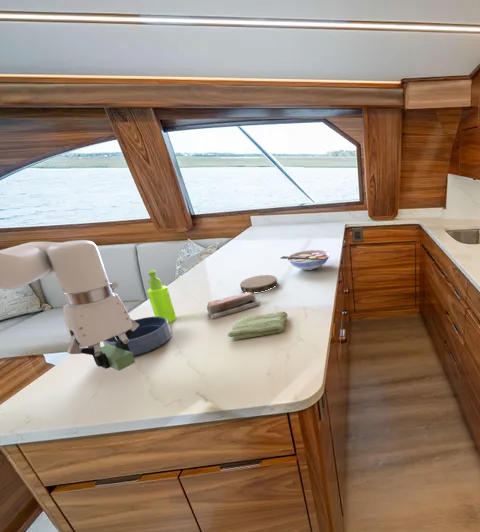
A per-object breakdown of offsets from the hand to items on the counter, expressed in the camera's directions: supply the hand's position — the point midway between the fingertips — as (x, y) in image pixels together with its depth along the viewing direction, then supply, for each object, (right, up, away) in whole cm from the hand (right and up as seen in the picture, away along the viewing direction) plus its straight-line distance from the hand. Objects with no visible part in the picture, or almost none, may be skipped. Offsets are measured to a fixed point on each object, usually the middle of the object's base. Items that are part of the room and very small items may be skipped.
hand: (115, 361), depth 74 cm
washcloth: (+21, +1, +32) cm, 39 cm away
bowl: (-14, -2, +24) cm, 28 cm away
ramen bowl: (+21, +23, +94) cm, 98 cm away
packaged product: (+3, +6, +48) cm, 49 cm away
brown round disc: (+3, +14, +69) cm, 71 cm away
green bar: (0, 0, 0) cm, 0 cm away
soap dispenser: (-19, +3, +40) cm, 44 cm away
